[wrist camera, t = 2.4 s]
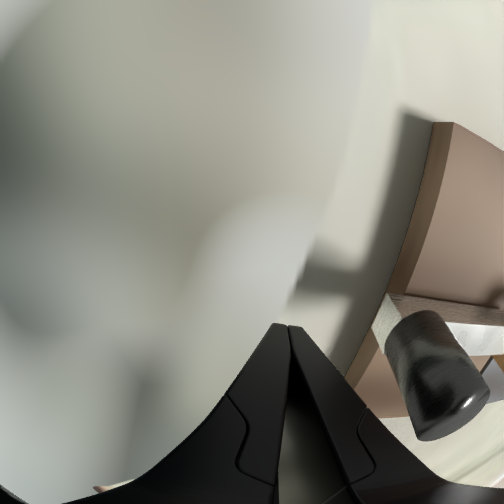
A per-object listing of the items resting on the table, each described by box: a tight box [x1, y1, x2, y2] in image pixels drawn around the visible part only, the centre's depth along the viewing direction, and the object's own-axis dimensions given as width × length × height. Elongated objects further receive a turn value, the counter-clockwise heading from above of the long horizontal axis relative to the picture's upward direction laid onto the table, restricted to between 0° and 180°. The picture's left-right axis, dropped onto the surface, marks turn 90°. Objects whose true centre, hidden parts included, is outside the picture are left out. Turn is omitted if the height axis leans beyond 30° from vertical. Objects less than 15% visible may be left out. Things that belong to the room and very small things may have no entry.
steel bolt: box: [371, 293, 504, 441], centre depth 7 cm, size 2×8×5 cm, turn 80°
